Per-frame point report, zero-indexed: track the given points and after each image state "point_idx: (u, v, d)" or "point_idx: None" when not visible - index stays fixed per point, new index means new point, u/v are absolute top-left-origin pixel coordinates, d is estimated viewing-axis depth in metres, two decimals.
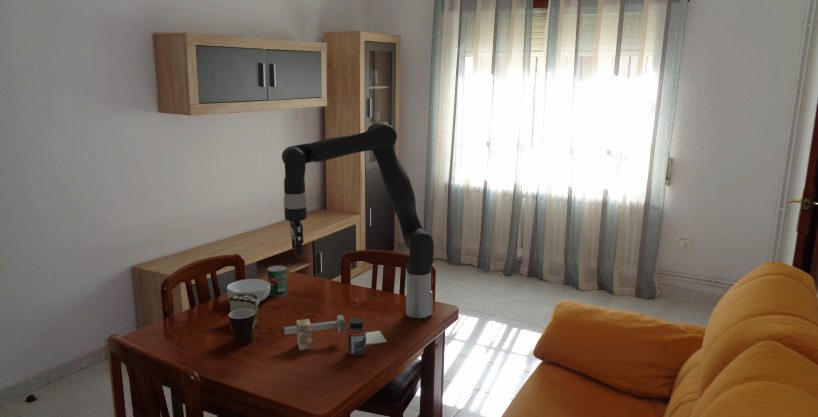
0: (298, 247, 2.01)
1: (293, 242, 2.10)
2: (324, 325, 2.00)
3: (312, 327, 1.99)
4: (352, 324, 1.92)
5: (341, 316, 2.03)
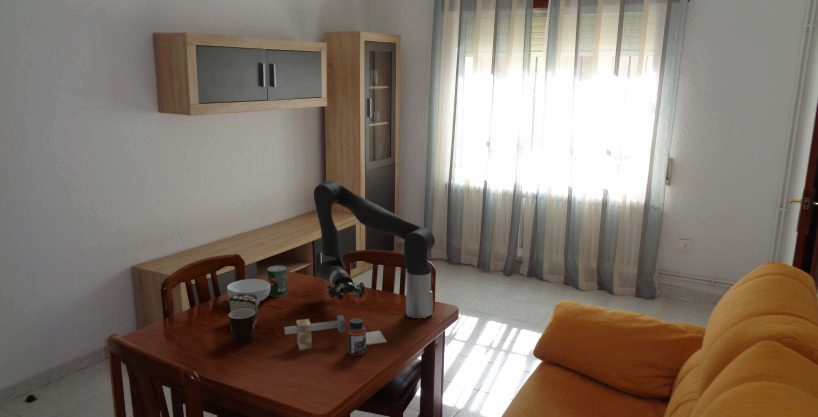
0: (337, 295, 2.14)
1: (358, 295, 2.15)
2: (324, 325, 2.00)
3: (312, 327, 1.99)
4: (352, 324, 1.92)
5: (341, 316, 2.03)
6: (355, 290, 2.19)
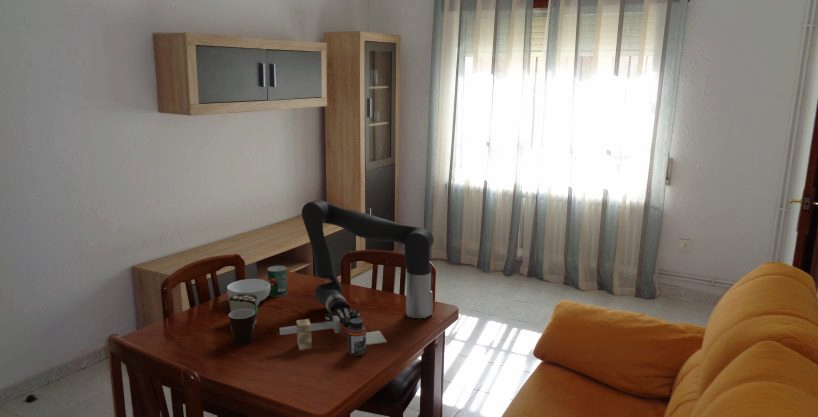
0: (342, 323, 2.04)
1: None
2: (319, 326, 1.99)
3: None
4: (352, 324, 1.92)
5: (336, 317, 2.03)
6: None
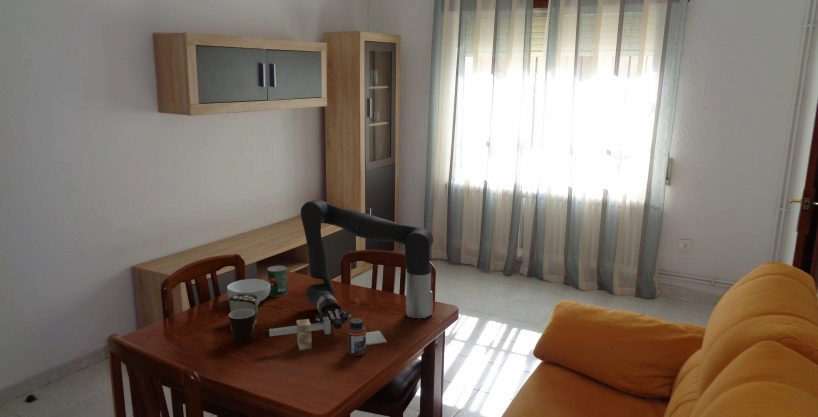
0: (333, 324, 2.03)
1: None
2: None
3: (297, 329, 1.97)
4: (352, 324, 1.92)
5: (327, 318, 2.02)
6: None
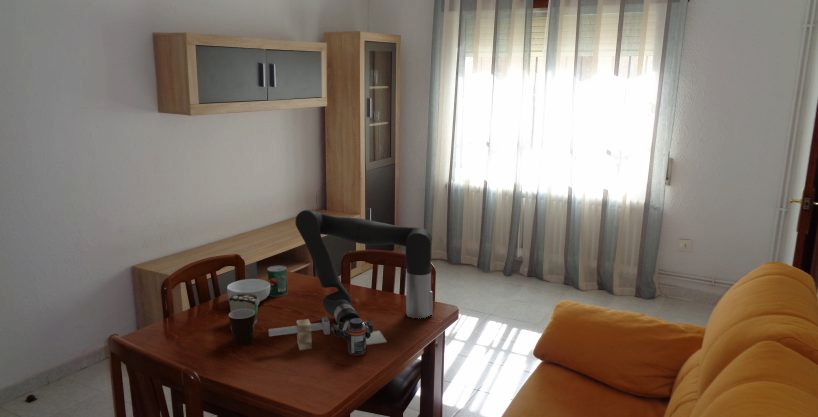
0: (343, 335, 1.93)
1: None
2: None
3: (296, 329, 1.97)
4: (352, 324, 1.92)
5: (326, 318, 2.02)
6: None
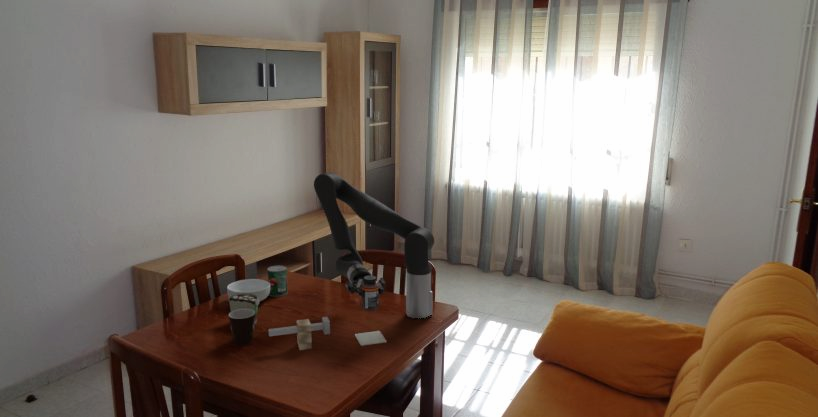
0: (357, 292, 2.01)
1: None
2: None
3: (296, 329, 1.97)
4: (366, 280, 2.00)
5: (326, 318, 2.02)
6: None
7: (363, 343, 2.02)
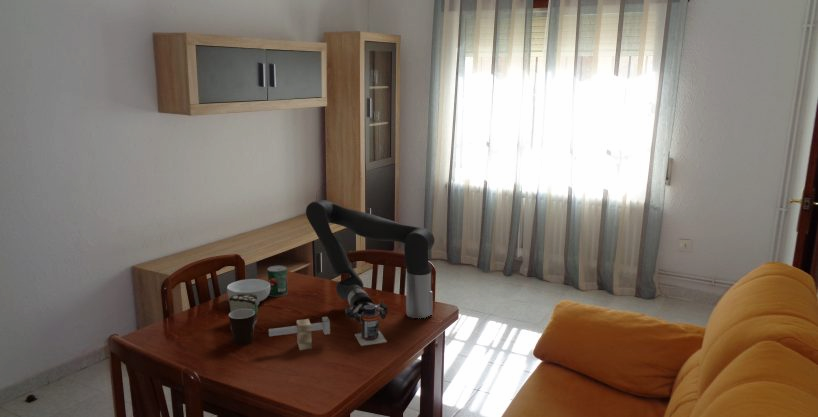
0: (354, 317, 2.04)
1: (380, 316, 2.06)
2: None
3: (296, 329, 1.97)
4: (365, 310, 2.02)
5: (326, 318, 2.02)
6: (376, 311, 2.09)
7: (363, 343, 2.02)
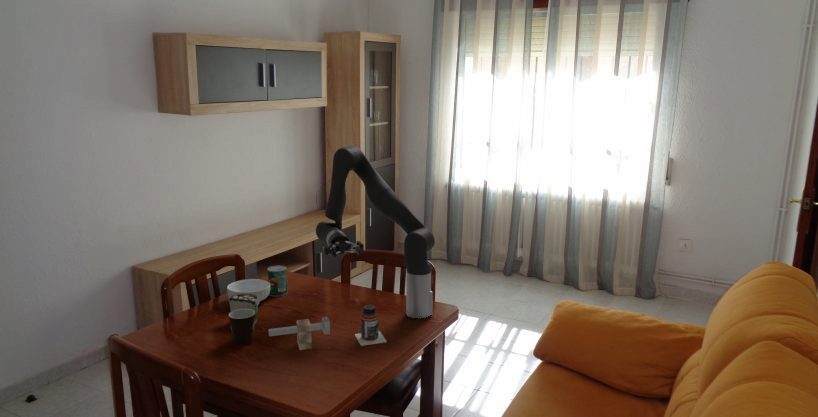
0: (331, 253, 2.10)
1: (356, 252, 2.12)
2: None
3: (296, 329, 1.97)
4: (365, 310, 2.02)
5: (326, 318, 2.02)
6: (353, 248, 2.16)
7: (363, 343, 2.02)
